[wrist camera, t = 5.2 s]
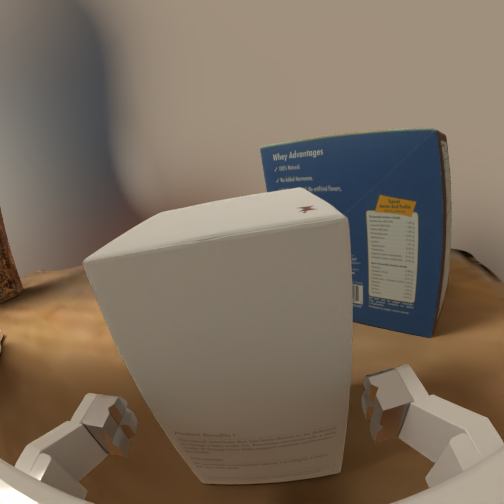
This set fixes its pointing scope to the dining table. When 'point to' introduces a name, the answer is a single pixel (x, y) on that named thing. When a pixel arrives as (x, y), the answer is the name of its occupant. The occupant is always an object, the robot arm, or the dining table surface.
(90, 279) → the supplement box
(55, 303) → the dining table surface
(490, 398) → the dining table surface
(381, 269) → the protein box
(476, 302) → the dining table surface
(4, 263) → the book
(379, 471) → the dining table surface
